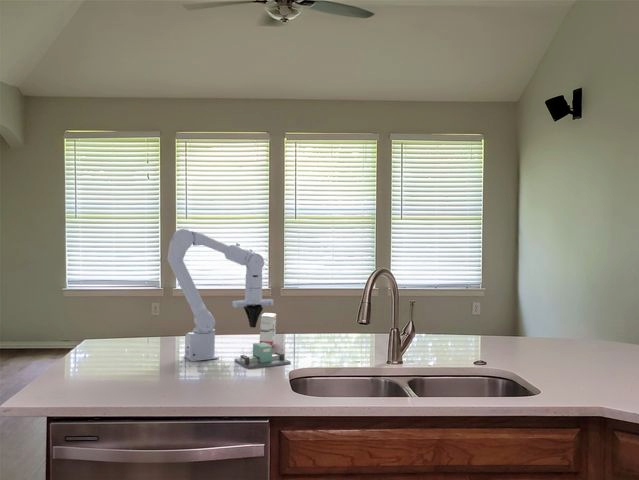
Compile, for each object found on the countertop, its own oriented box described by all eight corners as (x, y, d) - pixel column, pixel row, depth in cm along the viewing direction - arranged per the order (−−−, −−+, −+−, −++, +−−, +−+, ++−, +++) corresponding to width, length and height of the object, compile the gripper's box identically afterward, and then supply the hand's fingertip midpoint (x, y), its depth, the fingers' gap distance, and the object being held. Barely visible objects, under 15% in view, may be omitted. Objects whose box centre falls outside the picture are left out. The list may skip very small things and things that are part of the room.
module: (260, 362, 175) (261, 347, 175) (252, 358, 180) (253, 343, 180) (271, 361, 177) (272, 346, 177) (263, 357, 182) (264, 342, 182)
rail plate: (248, 368, 170) (248, 360, 170) (234, 361, 179) (234, 353, 179) (290, 363, 178) (290, 355, 178) (275, 356, 187) (275, 349, 187)
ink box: (272, 348, 200) (273, 316, 200) (259, 348, 200) (259, 315, 200) (275, 343, 209) (276, 312, 208) (262, 343, 209) (263, 312, 209)
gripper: (238, 289, 180) (237, 330, 181) (277, 288, 188) (276, 327, 188) (230, 287, 186) (229, 326, 187) (268, 286, 194) (267, 324, 194)
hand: (252, 327), depth 188 cm, fingers closed
